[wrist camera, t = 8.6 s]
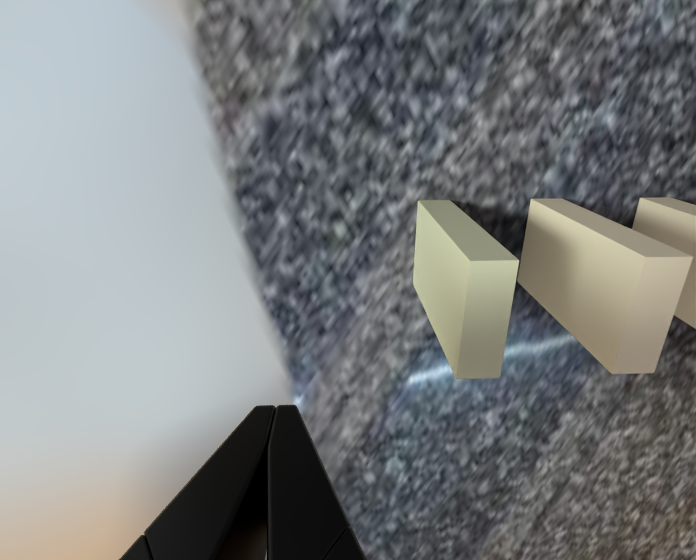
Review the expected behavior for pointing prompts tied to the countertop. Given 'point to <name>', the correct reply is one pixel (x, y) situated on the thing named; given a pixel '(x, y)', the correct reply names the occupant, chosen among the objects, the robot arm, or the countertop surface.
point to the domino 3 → (673, 241)
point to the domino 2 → (602, 282)
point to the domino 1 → (464, 287)
